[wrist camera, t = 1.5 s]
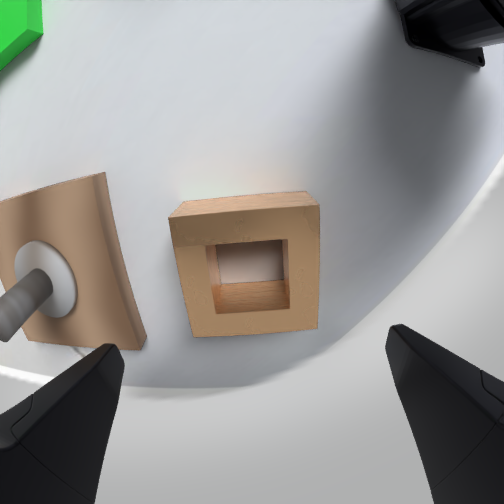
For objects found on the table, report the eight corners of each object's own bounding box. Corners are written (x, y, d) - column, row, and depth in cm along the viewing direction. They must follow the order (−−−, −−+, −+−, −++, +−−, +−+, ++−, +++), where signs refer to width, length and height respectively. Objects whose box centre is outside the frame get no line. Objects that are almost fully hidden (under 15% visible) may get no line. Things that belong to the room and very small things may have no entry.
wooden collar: (306, 191, 15) (319, 204, 12) (307, 298, 17) (317, 328, 14) (183, 201, 15) (168, 217, 12) (201, 305, 17) (193, 337, 14)
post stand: (105, 171, 14) (21, 203, 8) (146, 336, 18) (113, 416, 12) (-7, 203, 14) (-73, 237, 8) (36, 330, 19) (-5, 384, 12)
